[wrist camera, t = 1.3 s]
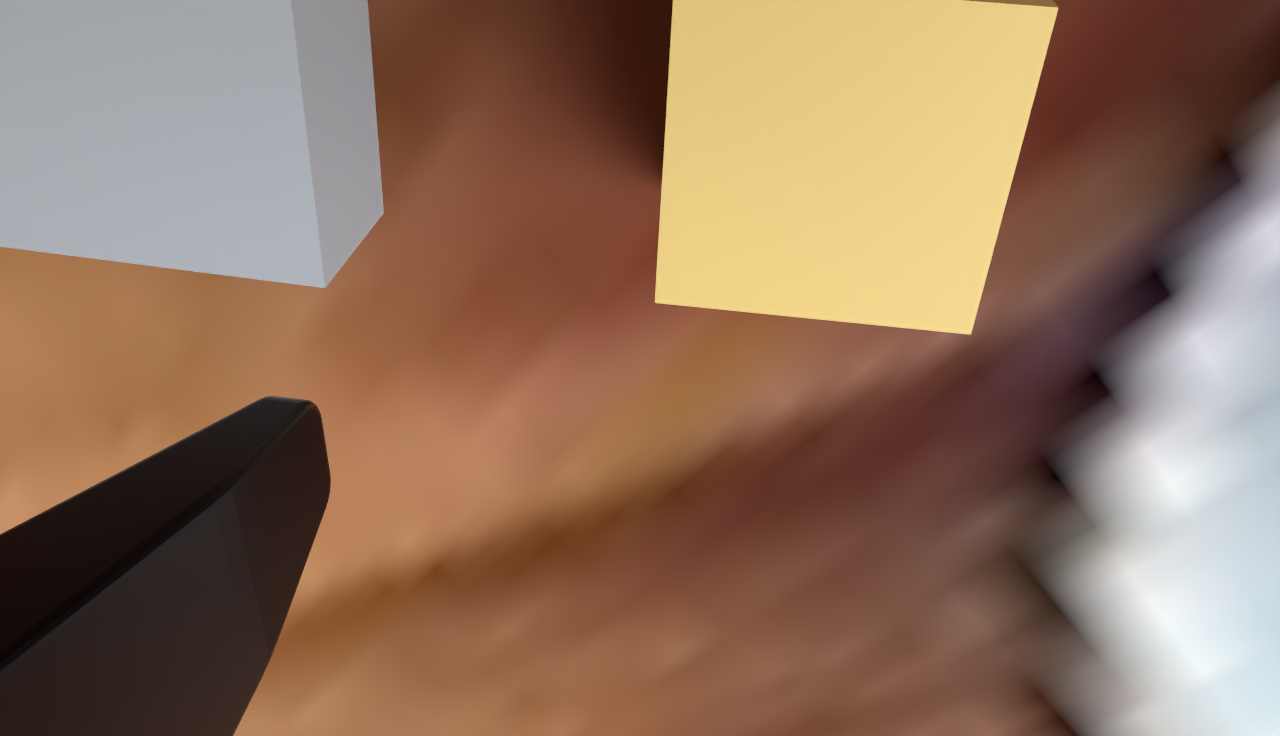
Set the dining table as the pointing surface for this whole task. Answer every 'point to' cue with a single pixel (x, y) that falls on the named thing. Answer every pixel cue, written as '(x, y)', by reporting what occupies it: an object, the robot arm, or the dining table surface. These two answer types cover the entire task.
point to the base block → (190, 133)
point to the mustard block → (843, 154)
